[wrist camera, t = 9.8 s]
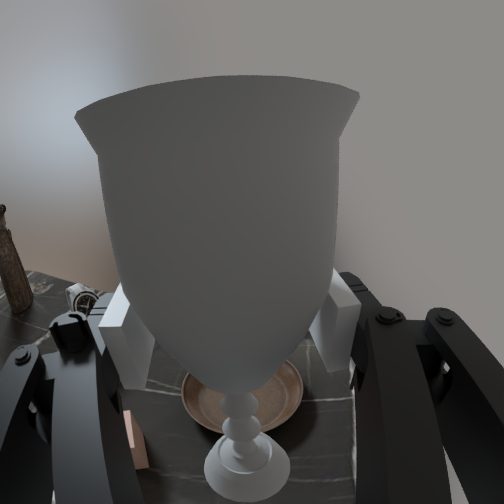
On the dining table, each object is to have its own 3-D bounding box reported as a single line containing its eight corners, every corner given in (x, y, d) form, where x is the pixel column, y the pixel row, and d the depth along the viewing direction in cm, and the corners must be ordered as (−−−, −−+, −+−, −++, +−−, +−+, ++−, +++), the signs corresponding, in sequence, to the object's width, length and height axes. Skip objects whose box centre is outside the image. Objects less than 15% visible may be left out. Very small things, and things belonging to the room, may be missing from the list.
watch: (95, 363, 39) (70, 304, 35) (74, 341, 43) (52, 287, 39) (121, 346, 43) (102, 287, 39) (98, 327, 47) (80, 273, 43)
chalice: (313, 428, 16) (344, 106, 9) (302, 521, 10) (397, 76, 3) (204, 415, 18) (154, 116, 11) (170, 498, 12) (16, 129, 5)
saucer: (207, 353, 43) (204, 339, 42) (306, 365, 39) (308, 352, 38) (167, 430, 30) (161, 417, 28) (292, 455, 26) (294, 444, 25)
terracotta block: (108, 472, 23) (89, 452, 21) (105, 438, 27) (88, 415, 25) (149, 467, 24) (134, 447, 22) (143, 433, 29) (129, 410, 26)
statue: (40, 301, 54) (5, 196, 43) (15, 317, 48) (-24, 209, 38) (30, 291, 58) (-1, 195, 48) (8, 304, 53) (-27, 208, 42)
